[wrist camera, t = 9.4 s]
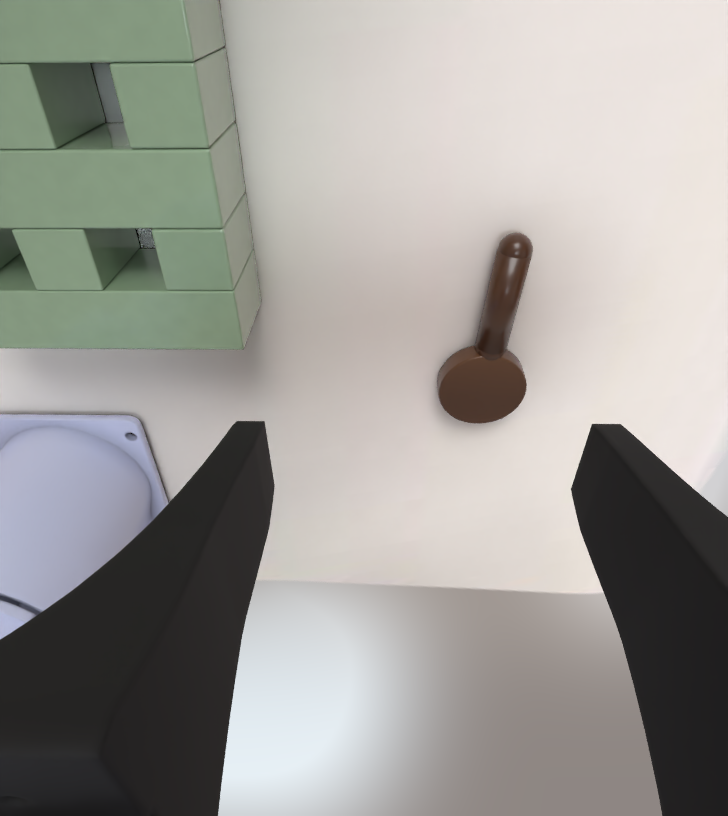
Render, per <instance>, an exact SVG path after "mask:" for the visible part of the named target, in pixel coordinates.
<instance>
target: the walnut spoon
mask: <svg viewBox="0 0 728 816" xmlns="http://www.w3.org/2000/svg"><path fill="white" fill-rule="evenodd" d="M532 252H533V247H532V243H531V241H530V239H529V238H528V237H527V236H525V235H523V234H521V233H512V234H509V235H507V236H505V237H504V238H503V239H502V240H501V241H500V243H499V246H498V249H497V253H496V257H495V262H494V266H493V270H492V275H491V279H490V284H489V288H488V292H487V297H486V301H485V305H484V310H483V314H482V318H481V323H480V327H479V332H478V336H477V340H476V345H475V346H470V347H467V348H464V349H462V350H460V351H458V352H456V353H455V354H453V355H452V356H451V357H450V358H449V359H448V360H447V361H446V362H445V363H444V364H443V366H442V368H441V369H440V372H439V375H438V380H437V384H438V394H439V399H440V402H441V405H442V406H443V408H444V409H445V410H446V411H447V413H449V414H450V415H451V416H453V417H454V418H456V419H458V420H461V421H464V422H468V423H487V422H492V421H496V420H498V419H501V418H503V417H505V416H507V415H508V414H510V413H511V412H512V411H514V410H515V409H516V408H517V407H518V406H519V404H520V403H521V401H522V400H523V398H524V395H525V392H526V385H527V384H526V378H525V375H524V372H523V369H522V366H521V363H520V361H519V360H518V359H517V357H516V356H515V355H514V354H512V353H511V352H510V351H508V350H506V348H507V344H508V340H509V337H510V333H511V329H512V326H513V322H514V318H515V315H516V311H517V308H518V304H519V300H520V297H521V293H522V289H523V286H524V282H525V278H526V275H527V271H528V267H529V264H530V260H531V256H532Z"/></svg>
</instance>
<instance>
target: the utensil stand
mask: <svg viewBox="0 0 728 816" xmlns="http://www.w3.org/2000/svg"><path fill="white" fill-rule="evenodd" d="M223 47H225V39H224V32H223V25H222V18H221V10H220V3H219V0H0V348H51V349H222V350H243V349H244V347H245V345H246V342H247V339H248V337H249V334H250V331H251V328H252V326H253V323H254V320H255V317H256V315H257V312H258V309H259V307H260V304H261V296H260V288H259V281H258V274H257V267H256V260H255V253H254V249H253V240H252V233H251V226H250V219H249V211H248V204H247V197H246V194H244V193H245V183H244V176H243V168H242V161H241V154H240V147H239V140H238V133H237V126H236V124H235V123H234V122H235V119H236V118H235V111H234V104H233V97H232V90H231V83H230V76H229V69H228V61H227V54H226V50H225V48H223ZM90 63H111V64H110V71H111V75H112V79H113V83H114V87H115V90H116V94H117V98H118V102H119V106H120V110H121V114H122V118H123V122H124V123H104V122H105V116H104V113H103V109H102V106H101V102H100V98H99V95H98V91H97V87H96V84H95V80H94V76H93V73H92V69H91V65H90ZM135 228H153V229H152V235H153V239H154V243H155V247H156V249H140V245H139V241H138V237H137V234H136V230H135Z"/></svg>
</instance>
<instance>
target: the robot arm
mask: <svg viewBox="0 0 728 816" xmlns="http://www.w3.org/2000/svg"><path fill="white" fill-rule="evenodd" d="M129 432H130V433H133V434H135V435H136V436H135V435H132V434H130V433H129ZM571 491H572V496H573V501H574V505H575V510H576V514H577V518H578V522H579V526H580V530H581V533H582V536H583V539H584V542H585V544H586V547H587V549H588V552H589V555H590V557H591V560H592V563H593V565H594V568H595V571H596V573H597V576H598V578H599V581H600V583H601V586H602V589H603V591H604V594H605V596H606V599H607V602H608V604H609V607H610V609H611V612H612V614H613V617H614V620H615V622H616V625H617V628H618V631H619V634H620V637H621V640H622V643H623V647H624V650H625V654H626V658H627V661H628V665H629V669H630V673H631V677H632V680H633V683H634V688H635V692H636V696H637V700H638V704H639V708H640V712H641V716H642V720H643V725H644V729H645V733H646V737H647V742H648V746H649V751H650V756H651V761H652V765H653V770H654V774H655V779H656V784H657V788H658V794H659V799H660V805H661V810H662V815H663V816H728V517H727V516H726V515H725V514H723V513H722V512H721V511H719V510H718V509H717V508H716V507H714V506H713V505H712V504H711V503H710V502H708V501H707V500H706V499H705V498H704V497H702V496H701V495H700V494H699V493H698V492H696V491H695V490H694V489H693V488H692V487H691V486H689V485H688V484H687V483H686V482H685V481H684V480H683V479H681V478H680V477H679V476H678V475H677V474H676V473H675V472H674V471H672V470H671V469H670V468H669V467H668V466H667V465H666V464H665V463H663V462H662V461H661V460H660V459H659V458H658V457H657V456H656V455H655V454H654V453H652V452H651V451H650V450H649V449H648V448H647V447H646V446H645V445H644V444H643V443H641V442H640V441H639V440H638V439H637V438H636V437H635V436H634V435H632V434H631V433H630V432H629V431H628V430H627V429H626V428H624V427H623V426H622V425H621V424H592V426H591V429H590V432H589V435H588V439H587V442H586V445H585V448H584V451H583V454H582V457H581V460H580V463H579V466H578V469H577V472H576V475H575V479H574V482H573V485H572V488H571ZM273 494H274V480H273V473H272V467H271V460H270V454H269V448H268V441H267V435H266V428H265V422H264V421H237V422H236V423H235V424H234V425H233V426H232V427H231V428H230V430H229V431H228V432H227V434H226V435H225V436H224V438H223V439H222V440H221V442H220V443H219V444H218V446H217V447H216V448H215V449H214V451H213V452H212V453H211V455H210V456H209V457H208V458H207V460H206V461H205V462H204V463H203V465H202V466H201V467H200V468H199V469H198V471H197V472H196V473H195V474H194V475H193V476H192V478H191V479H190V480H189V481H188V482H187V484H186V485H185V486H184V487H183V488H182V489H181V491H180V492H179V493H178V494H177V495H176V496H175V497H174V498H173V499H172V500H171V501H170V502H169V503H168V500H167V497H166V494H165V491H164V488H163V485H162V482H161V479H160V476H159V473H158V470H157V468H156V465H155V462H154V459H153V456H152V453H151V450H150V447H149V444H148V441H147V438H146V435H145V432H144V430H143V427H142V424H141V422H140V421H139V420H138V419H137V418H136V417H133V416H129V415H41V414H0V816H218V809H219V800H220V791H221V782H222V774H223V766H224V758H225V749H226V742H227V734H228V726H229V719H230V712H231V705H232V698H233V690H234V684H235V677H236V670H237V664H238V658H239V652H240V645H241V639H242V634H243V629H244V624H245V619H246V615H247V611H248V607H249V604H250V600H251V596H252V592H253V588H254V584H255V581H256V577H257V573H258V569H259V565H260V561H261V558H262V554H263V550H264V546H265V542H266V538H267V534H268V530H269V525H270V518H271V510H272V503H273Z"/></svg>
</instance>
